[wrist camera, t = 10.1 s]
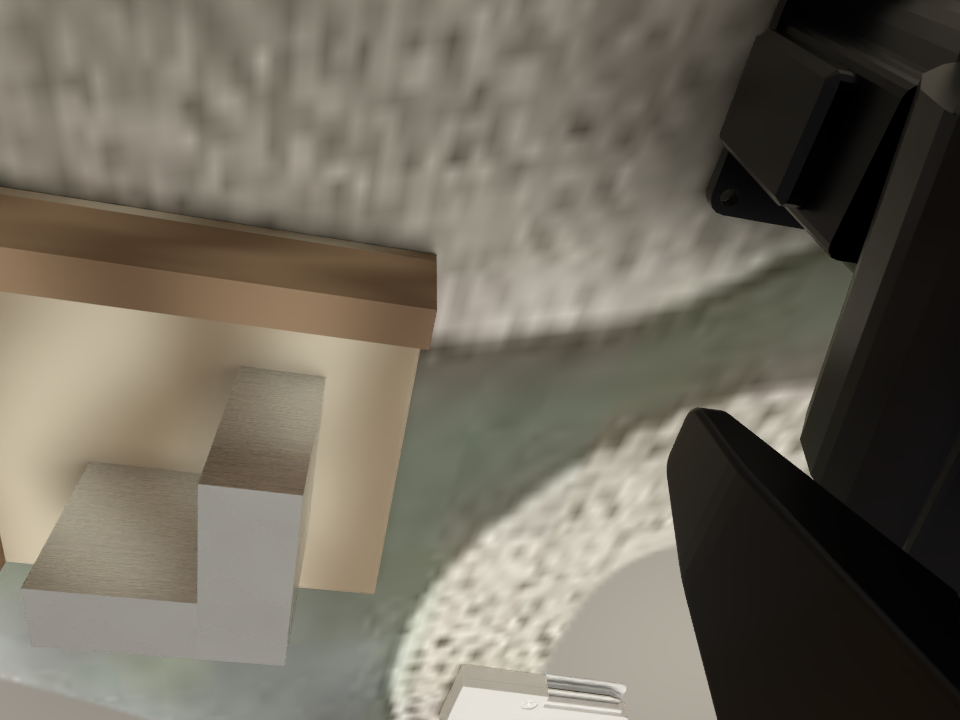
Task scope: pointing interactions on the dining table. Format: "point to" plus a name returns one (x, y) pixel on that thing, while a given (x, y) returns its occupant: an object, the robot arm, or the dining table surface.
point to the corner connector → (530, 697)
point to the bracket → (190, 540)
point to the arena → (199, 359)
